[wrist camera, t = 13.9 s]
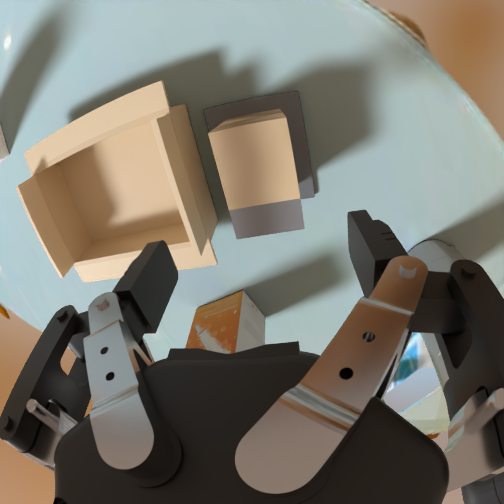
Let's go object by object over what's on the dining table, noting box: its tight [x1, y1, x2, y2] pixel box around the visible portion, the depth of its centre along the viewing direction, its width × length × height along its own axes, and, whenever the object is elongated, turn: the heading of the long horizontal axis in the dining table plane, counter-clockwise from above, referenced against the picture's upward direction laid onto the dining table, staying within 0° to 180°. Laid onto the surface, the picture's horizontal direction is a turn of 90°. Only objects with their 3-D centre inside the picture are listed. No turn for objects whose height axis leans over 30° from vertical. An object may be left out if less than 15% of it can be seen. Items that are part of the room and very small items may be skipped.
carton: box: [16, 80, 218, 282], centre depth 25 cm, size 19×18×8 cm
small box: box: [186, 290, 265, 354], centre depth 33 cm, size 8×6×13 cm
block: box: [208, 109, 305, 239], centre depth 22 cm, size 5×8×9 cm, turn 12°
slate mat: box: [203, 91, 315, 199], centre depth 26 cm, size 9×11×1 cm
